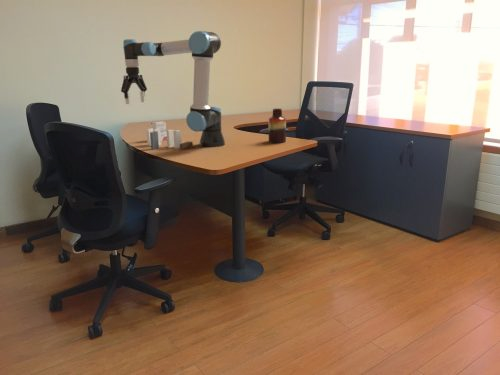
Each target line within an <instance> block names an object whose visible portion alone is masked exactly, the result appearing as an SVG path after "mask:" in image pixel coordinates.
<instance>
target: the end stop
mask: <svg viewBox="0 0 500 375" xmlns="http://www.w3.org/2000/svg"><path fill="white" fill-rule="evenodd" d="M193 146H194V144H193V141H185V142H181V144H180V147H179V150H187V149H190V148H193Z"/></svg>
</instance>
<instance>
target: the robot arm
mask: <svg viewBox="0 0 500 375" xmlns="http://www.w3.org/2000/svg"><path fill="white" fill-rule="evenodd" d="M221 45H222V41H221V37H219V35H218V34H217V33H215V32H212V31H207V30H206V31H205V30H197V31H194V32H192V34H191V35H190V36H189V38H188V39H179V40H173V41H164V42H152V41H145V42H143V41H142V42H137V40H136V39H133V38H132V39H128V38H127V39H124V40H123V54H124V62H125V63H124V64H125V73H126V74H127V75H123V80H122V84H121V88H120V89H121V90H120V91H121V93H122V94H124V100H125V101H124V102H125V105H131V101H130V100H131V99H130V93H129V91H130V88H131V87H132V85H133V84H135V85H137V87H138V89H139V90H140V91H139V94H140V95H139V96H140V102H141V103H146V92H147V91H148V88H147V85H146V83H145V80H144V78H143V75H142V74H140V68H139V57H164V56H170V55H182V54H191V58H193V60H194V61H193V62H194V63H193V64H194V65H193V66H194V68H193V97H192V104H191V105H190V106H189V113H188V114H187V116H186V119H185V120H186V125H187V126H188V128H189V129H190V130H191V131H193V132H202V133H201V136H200V140H199V144H200V146H202V147H210V148H211V147H212V148H213V147H215V148H216V147H221V146H225V145H226V140H225V137H224V136H223V132H222V111H221V108H220V107H219V106H211V105H209V96H210V93H209V91H210V74H211V73H210V72H211V70H210V69H211V61H212V60H213V59H214V54H216V53H217V52H219V51H220V49H221Z"/></svg>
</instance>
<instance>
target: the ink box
mask: <svg viewBox="0 0 500 375" xmlns="http://www.w3.org/2000/svg"><path fill="white" fill-rule="evenodd" d="M150 125H151V128H154V129H160V133H161V142H163V141H167V132H166V131H167V124H166V121H158V122H156V121H155V122H150Z"/></svg>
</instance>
